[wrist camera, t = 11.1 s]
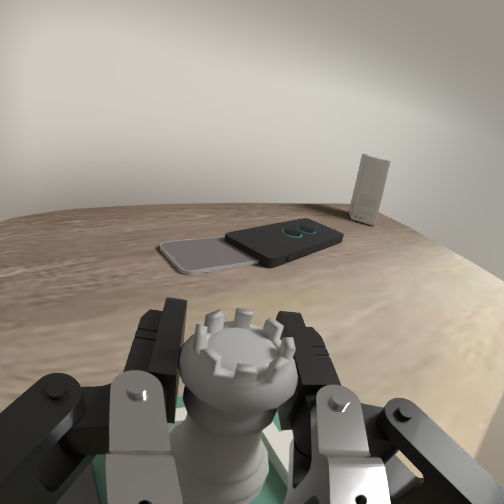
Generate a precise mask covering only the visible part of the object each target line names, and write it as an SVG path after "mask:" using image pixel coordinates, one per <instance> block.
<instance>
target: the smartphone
mask: <svg viewBox="0 0 504 504" xmlns="http://www.w3.org/2000/svg"><path fill="white" fill-rule="evenodd" d="M224 240H225V236H221V237H211V238H200V239H190V240H180V241H170V242H163V243H161V244H160V251H161V252H162V253H163V254H164V255H165V256H166V257H167V259H168V260H169V261H170V262H171V263H172V264H173V265H174V266H175V267H176V268H177V270H178V271H179V272H181V273H182V274H185V275H197V274H203V273H207V272H215V271H221V270H226V269H232V268H237V267H242V266H248V265H253V264H258V263H259V260H257V259H255V258H253V257H252V256H250V255H248V254H246V253H245V252H243V251H241V250H239V249H238V248H236V247H234V246H232V245H230V244H229V243H227V242H225V241H224Z"/></svg>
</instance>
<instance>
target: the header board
mask: <svg viewBox="0 0 504 504" xmlns="http://www.w3.org/2000/svg"><path fill="white" fill-rule="evenodd" d="M186 416H187V411H186V408H185V405H184V402H183V397H177V404H176V414H175V424H173V423H168V424H167V426H168V433H169V434H170V433H171V431H172V430H173V429H174V428H175V426H177V425H179V424H181V423H182V421H184V420H185V418H186ZM292 439H293V432H292V430H281V426H280V421H279V416H278V411H277V412H276V414H275V417H274V419H273V421H272V423H271V424H270V425H269V426H267V427H266V428H265V429H263V430H262V436H261V440H262V441H263V443H264V446H265V447H266V449H267V451H268V465H269V473H268V475H267V477H266V480H265V482H264V485H263V487H262V489H261V491H260V493H259V495H258V496H257V497H256V498H255V499H253V500H252V501H251V502H250V503H248V504H283V503H284V501H285V498H286V495H287V489H288V470H289V447H290V442H291V440H292ZM56 504H108V499H107V485H106V454H102V455H96V456H95V458H94V459H93V460H92V461H91V462H90V464H89V465H88V466H87V467H86V468H85V470H84V471H83V472H82V473H81V474H80V476H79V477H78V478H77V479H76V480H75V482H74V483H73V484H72V485H71V486H70V488H69V489H68V490H67V491H66V492H65V493H64V495H63V496H62V497H61V498H60V499H59V501H58V502H57V503H56ZM183 504H184V503H183Z"/></svg>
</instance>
